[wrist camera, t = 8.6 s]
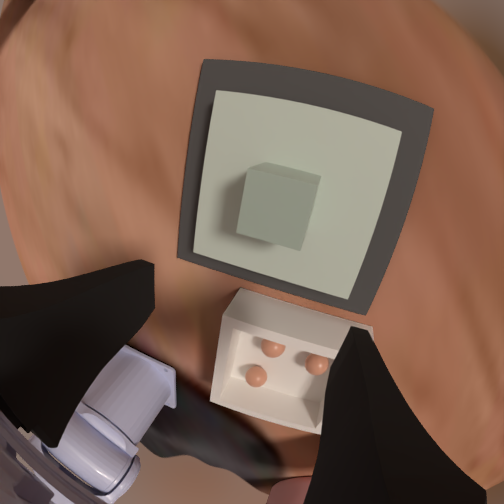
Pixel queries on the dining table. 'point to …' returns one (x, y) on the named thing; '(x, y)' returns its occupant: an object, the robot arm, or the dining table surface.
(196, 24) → the dining table surface
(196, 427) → the dining table surface
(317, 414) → the shallow white tray
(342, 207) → the lid
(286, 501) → the cake
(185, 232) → the mat
